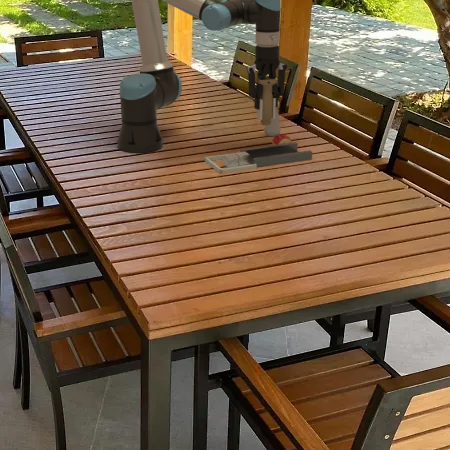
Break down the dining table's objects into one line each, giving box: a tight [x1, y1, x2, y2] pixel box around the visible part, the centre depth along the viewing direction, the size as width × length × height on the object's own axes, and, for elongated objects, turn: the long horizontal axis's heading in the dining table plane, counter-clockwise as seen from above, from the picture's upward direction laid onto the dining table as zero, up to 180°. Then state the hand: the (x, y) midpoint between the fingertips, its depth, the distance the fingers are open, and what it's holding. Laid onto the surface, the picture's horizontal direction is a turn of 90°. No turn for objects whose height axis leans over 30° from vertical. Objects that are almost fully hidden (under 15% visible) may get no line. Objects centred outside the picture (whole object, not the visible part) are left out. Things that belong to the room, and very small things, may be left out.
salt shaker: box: [263, 100, 282, 137], centre depth 251 cm, size 6×6×13 cm
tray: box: [203, 152, 258, 175], centre depth 223 cm, size 12×13×2 cm
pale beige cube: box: [234, 151, 250, 166], centre depth 224 cm, size 4×4×4 cm
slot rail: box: [239, 141, 313, 168], centre depth 228 cm, size 20×11×4 cm, turn 113°
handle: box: [256, 76, 278, 126], centre depth 231 cm, size 5×6×15 cm
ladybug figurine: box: [271, 133, 293, 145], centre depth 243 cm, size 7×10×4 cm
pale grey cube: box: [222, 153, 239, 168], centre depth 222 cm, size 4×4×4 cm
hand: (265, 117), depth 233 cm, fingers closed on handle, 4 cm apart
